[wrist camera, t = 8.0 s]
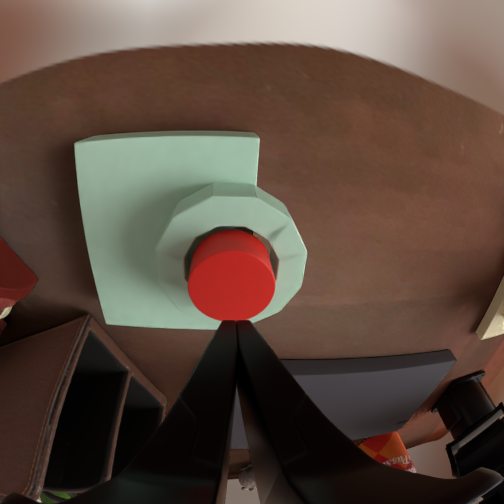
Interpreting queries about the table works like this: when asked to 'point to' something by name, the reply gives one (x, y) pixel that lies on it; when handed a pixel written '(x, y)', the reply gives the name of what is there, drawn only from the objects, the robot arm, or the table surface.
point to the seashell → (247, 478)
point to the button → (231, 276)
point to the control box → (174, 220)
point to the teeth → (12, 281)
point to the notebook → (363, 391)
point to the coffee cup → (388, 451)
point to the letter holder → (71, 410)
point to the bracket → (493, 316)
